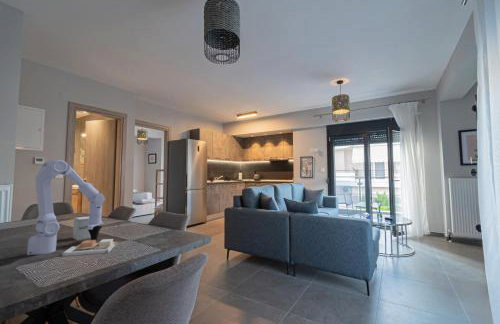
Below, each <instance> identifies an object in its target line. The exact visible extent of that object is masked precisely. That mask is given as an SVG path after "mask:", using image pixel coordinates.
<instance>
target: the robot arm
mask: <svg viewBox="0 0 500 324" xmlns="http://www.w3.org/2000/svg"><path fill="white" fill-rule="evenodd" d="M58 175H61V176H65V177H66V178H68V179H69V180H71V181H72V182H73V183H74V184H75V185H76V186H78V192H80V193H81V194H82V195H84V196H85V197H86V198H87V201H88V202H89V209H88V210H89V212H88V216H89V224H88V231H89V233H90V236H91V238H90V240H96V241H97V240H98V238H99V237H98V236H99V234H100V230H101V229H102V227H103V225H104V224H105V223H104V222H103V221H102V216H103V215H102V213H103V203H104V202H105V201H106V197H105V195H104V194H103V193H100V191H99V190H98V189H96V187H94V184H93V183H91V182H85V181H84V180H83V178H82V177H81V176H79V174H78V173H77V172H76V171H75V170H74V169H73V168H72V166H71V165H70V164H68V163H67V161H65V160H63V159H56V160H47V161H46V162H44V163H43V164H42V165H41V168H39V171H38V172H37V174H36V175H35V177H34V179H35V189H36V198H37V199H36V200H37V210H38V216H37V217H36V224H35V228H34V229H35V231H36V232H37V233H36V235H32V236H31V237H30V238H29V239H28V241H27V252H26V256H30V255H31V256H32V255H46V254H52V253H54V252H56V250H57V242H58V241H57V239H58V238H57V237H58V231H60V228H61V226H60V223H59V222H58V220H57V217H56V215H55V213H54V202H53V201H54V200H53V193H52V192H53V191H52V183H51V181H52V180H53V179H54V178H56V176H58Z"/></svg>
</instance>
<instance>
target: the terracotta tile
mask: <svg viewBox="0 0 500 324" xmlns="http://www.w3.org/2000/svg"><path fill="white" fill-rule="evenodd" d="M96 243H97V240H91V239H90V240H89V239H88V240H86V239H85V240H83V241H82V242H81V243H80V244H81V245H80V247H92V246H93V245H95V244H96Z"/></svg>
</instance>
